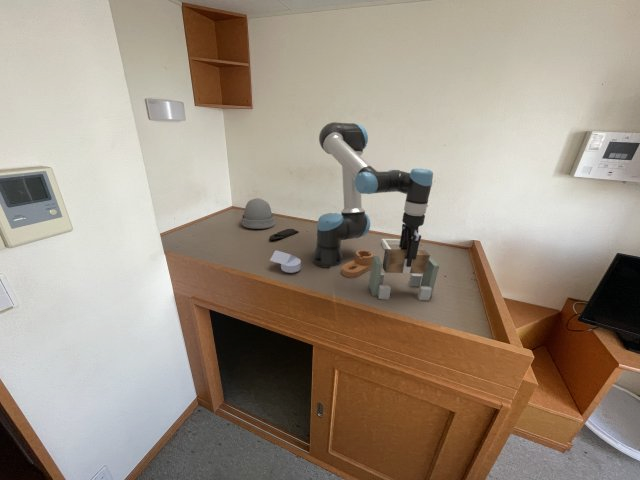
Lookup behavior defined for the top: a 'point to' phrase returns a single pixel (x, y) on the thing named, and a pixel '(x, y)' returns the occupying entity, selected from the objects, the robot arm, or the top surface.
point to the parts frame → (389, 242)
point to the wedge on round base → (286, 261)
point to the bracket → (358, 264)
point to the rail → (396, 260)
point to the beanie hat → (257, 215)
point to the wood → (283, 234)
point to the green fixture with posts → (415, 280)
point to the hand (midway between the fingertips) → (403, 269)
